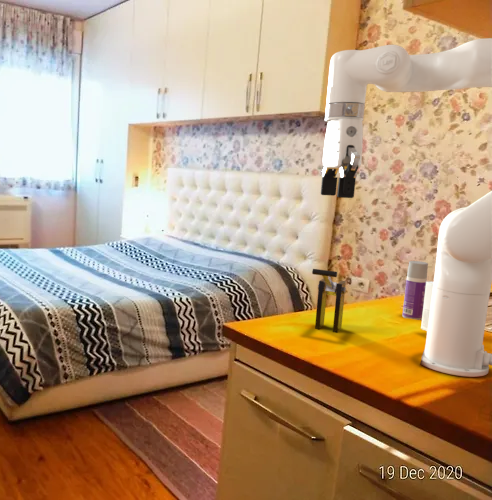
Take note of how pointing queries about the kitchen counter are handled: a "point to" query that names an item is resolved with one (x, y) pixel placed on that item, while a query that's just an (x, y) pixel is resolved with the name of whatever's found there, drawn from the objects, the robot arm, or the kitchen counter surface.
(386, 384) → the kitchen counter surface
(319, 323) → the bracket
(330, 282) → the lever
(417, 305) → the container
